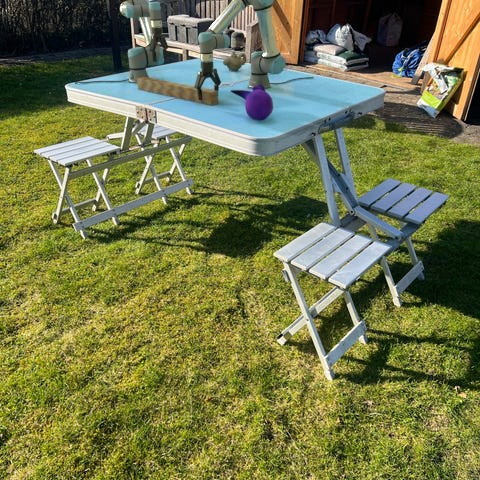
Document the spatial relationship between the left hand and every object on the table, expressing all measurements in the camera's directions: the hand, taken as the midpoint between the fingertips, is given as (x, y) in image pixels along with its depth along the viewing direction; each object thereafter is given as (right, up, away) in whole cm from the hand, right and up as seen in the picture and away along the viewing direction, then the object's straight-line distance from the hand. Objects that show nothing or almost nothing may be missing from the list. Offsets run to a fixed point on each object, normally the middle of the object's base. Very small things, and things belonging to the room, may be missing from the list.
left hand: (160, 60), depth 319 cm
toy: (+64, -61, -73) cm, 115 cm away
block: (+14, -33, -24) cm, 43 cm away
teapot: (+53, +11, +49) cm, 73 cm away
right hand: (+38, -41, -45) cm, 71 cm away
